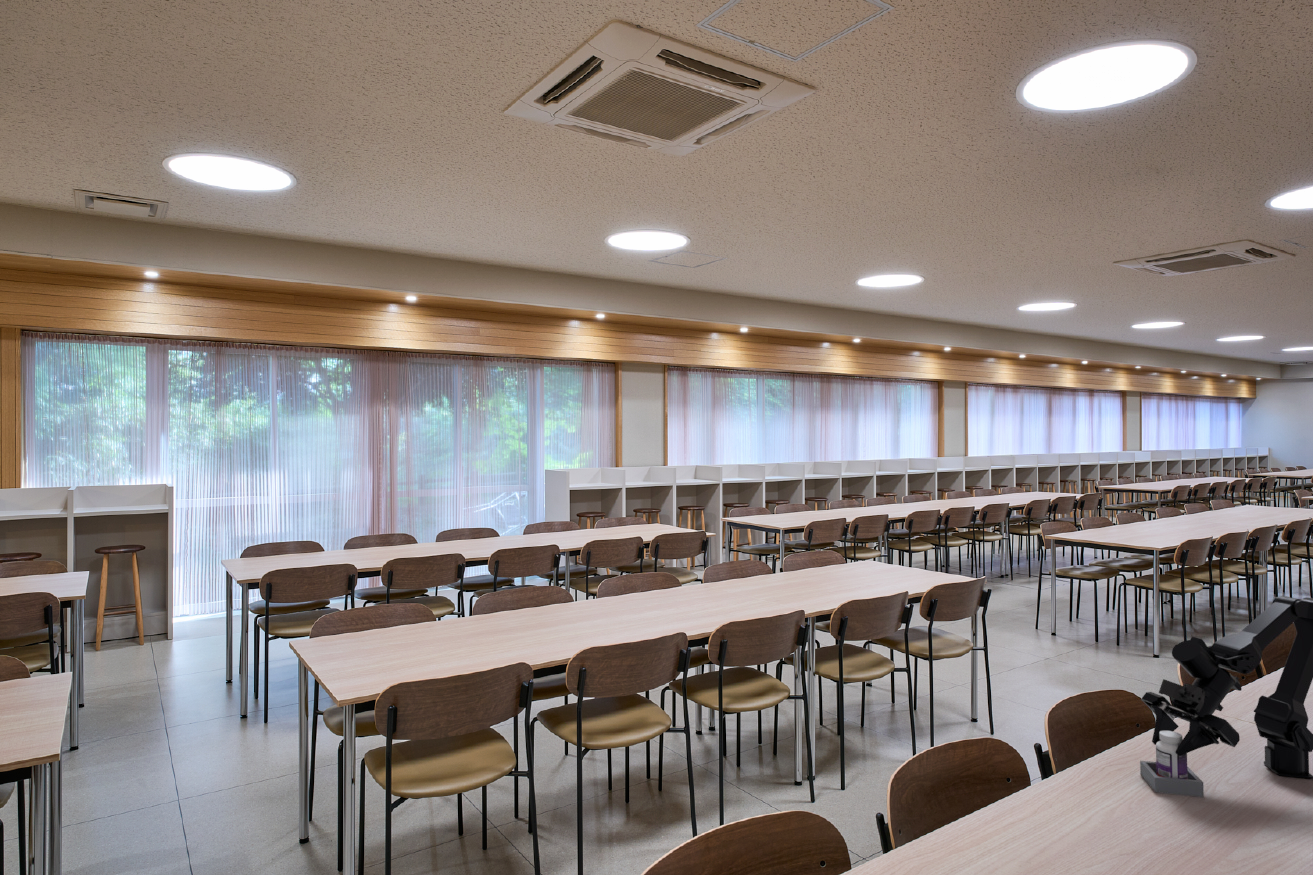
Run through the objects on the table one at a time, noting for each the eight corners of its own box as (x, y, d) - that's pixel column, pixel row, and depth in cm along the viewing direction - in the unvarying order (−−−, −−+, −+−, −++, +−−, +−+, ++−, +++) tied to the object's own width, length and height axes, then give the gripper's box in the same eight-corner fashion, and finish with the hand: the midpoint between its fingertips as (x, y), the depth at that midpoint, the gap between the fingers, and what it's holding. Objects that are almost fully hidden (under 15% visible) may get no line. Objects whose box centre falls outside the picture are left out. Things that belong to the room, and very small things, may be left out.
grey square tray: (1186, 778, 158) (1185, 764, 158) (1203, 797, 150) (1203, 782, 150) (1140, 774, 160) (1140, 760, 160) (1155, 792, 152) (1154, 777, 152)
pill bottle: (1183, 776, 157) (1181, 730, 157) (1191, 787, 152) (1190, 740, 152) (1153, 772, 158) (1152, 727, 159) (1160, 783, 153) (1159, 736, 154)
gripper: (1146, 655, 165) (1106, 708, 163) (1226, 680, 147) (1181, 741, 145) (1177, 687, 167) (1137, 740, 164) (1259, 716, 148) (1216, 777, 146)
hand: (1165, 748), depth 155 cm, fingers closed on pill bottle, 5 cm apart
